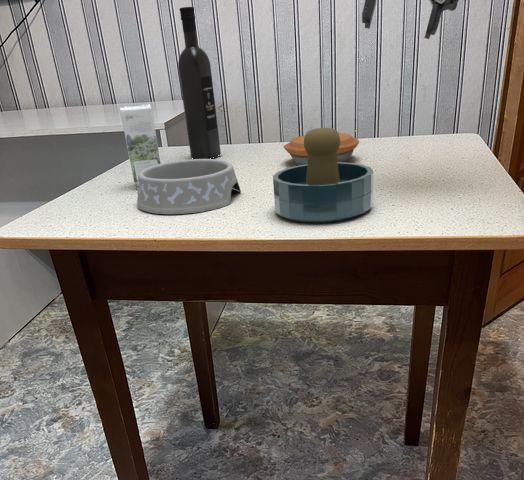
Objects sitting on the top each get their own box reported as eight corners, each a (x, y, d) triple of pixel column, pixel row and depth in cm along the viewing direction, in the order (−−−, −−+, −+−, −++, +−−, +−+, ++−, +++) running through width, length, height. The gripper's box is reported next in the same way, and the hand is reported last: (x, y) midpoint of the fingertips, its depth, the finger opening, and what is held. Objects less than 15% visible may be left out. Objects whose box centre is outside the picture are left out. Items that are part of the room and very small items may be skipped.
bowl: (346, 192, 89) (345, 158, 87) (390, 213, 77) (391, 174, 75) (263, 206, 86) (260, 171, 83) (295, 231, 74) (293, 191, 71)
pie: (369, 153, 115) (369, 128, 112) (344, 170, 103) (343, 143, 101) (303, 153, 122) (301, 129, 119) (272, 168, 110) (270, 143, 107)
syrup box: (163, 180, 109) (150, 102, 102) (165, 186, 104) (151, 105, 97) (135, 184, 108) (119, 105, 101) (135, 190, 103) (119, 108, 96)
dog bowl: (249, 184, 100) (246, 154, 97) (223, 214, 84) (218, 179, 82) (163, 187, 103) (158, 158, 101) (123, 216, 88) (116, 183, 85)
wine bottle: (223, 155, 127) (205, 5, 112) (209, 160, 123) (189, 6, 108) (203, 155, 130) (184, 8, 115) (189, 160, 126) (167, 9, 110)
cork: (333, 212, 78) (331, 132, 72) (296, 209, 81) (292, 132, 75) (349, 201, 82) (350, 125, 77) (314, 199, 85) (312, 125, 80)
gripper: (378, -119, 71) (347, 7, 72) (487, -105, 69) (453, 24, 70) (375, -77, 78) (347, 36, 80) (474, -63, 76) (443, 52, 78)
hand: (397, 30), depth 75 cm, fingers open, 8 cm apart
